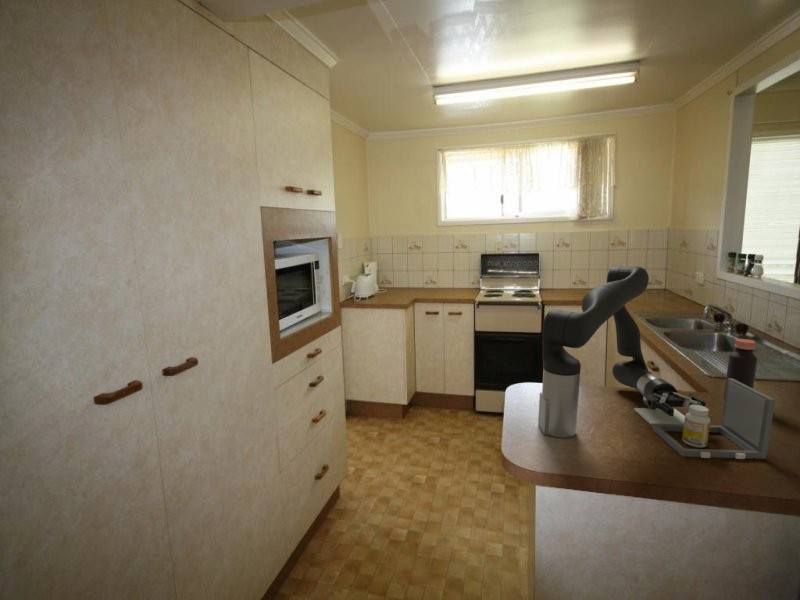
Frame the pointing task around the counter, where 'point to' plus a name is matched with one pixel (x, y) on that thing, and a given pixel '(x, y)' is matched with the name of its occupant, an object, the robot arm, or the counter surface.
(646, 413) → the mat
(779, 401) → the counter surface
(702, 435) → the supplement bottle
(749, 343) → the vinegar
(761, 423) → the access hatch
